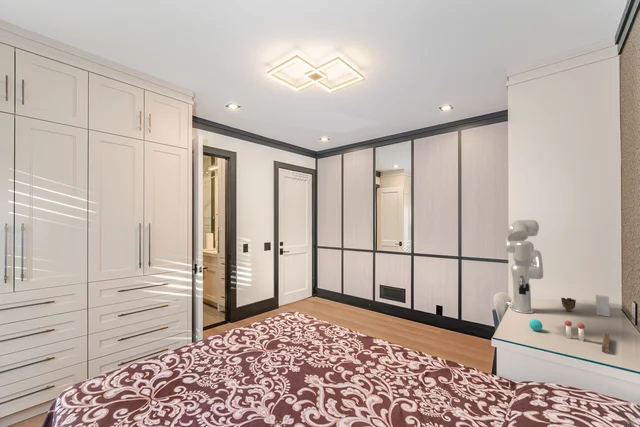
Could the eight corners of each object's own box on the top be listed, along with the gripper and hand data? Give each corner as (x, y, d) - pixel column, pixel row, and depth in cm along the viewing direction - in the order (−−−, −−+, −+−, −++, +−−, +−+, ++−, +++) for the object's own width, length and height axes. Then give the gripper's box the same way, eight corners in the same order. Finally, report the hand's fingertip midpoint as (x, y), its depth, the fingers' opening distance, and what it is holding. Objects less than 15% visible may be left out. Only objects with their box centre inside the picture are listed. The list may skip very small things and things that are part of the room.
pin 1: (564, 337, 151) (564, 320, 151) (565, 335, 153) (564, 319, 153) (572, 339, 149) (571, 322, 149) (572, 337, 151) (572, 320, 151)
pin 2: (577, 340, 147) (576, 323, 147) (577, 338, 149) (577, 321, 150) (585, 342, 145) (584, 324, 145) (585, 340, 147) (585, 322, 147)
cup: (573, 309, 191) (573, 297, 191) (578, 313, 185) (577, 301, 185) (559, 308, 194) (559, 296, 195) (563, 312, 188) (563, 300, 188)
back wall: (602, 352, 135) (602, 346, 135) (604, 338, 148) (603, 333, 148) (608, 353, 133) (608, 347, 133) (609, 339, 147) (609, 334, 147)
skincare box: (609, 315, 180) (609, 295, 180) (610, 317, 177) (609, 297, 177) (596, 313, 184) (595, 294, 184) (596, 315, 181) (595, 295, 181)
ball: (528, 330, 161) (527, 319, 161) (530, 327, 165) (530, 317, 165) (541, 333, 157) (541, 322, 157) (543, 330, 161) (543, 319, 161)
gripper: (518, 261, 176) (519, 288, 176) (512, 264, 164) (513, 294, 164) (533, 262, 171) (534, 290, 171) (528, 265, 159) (529, 296, 158)
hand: (524, 292), depth 167 cm, fingers open, 9 cm apart
